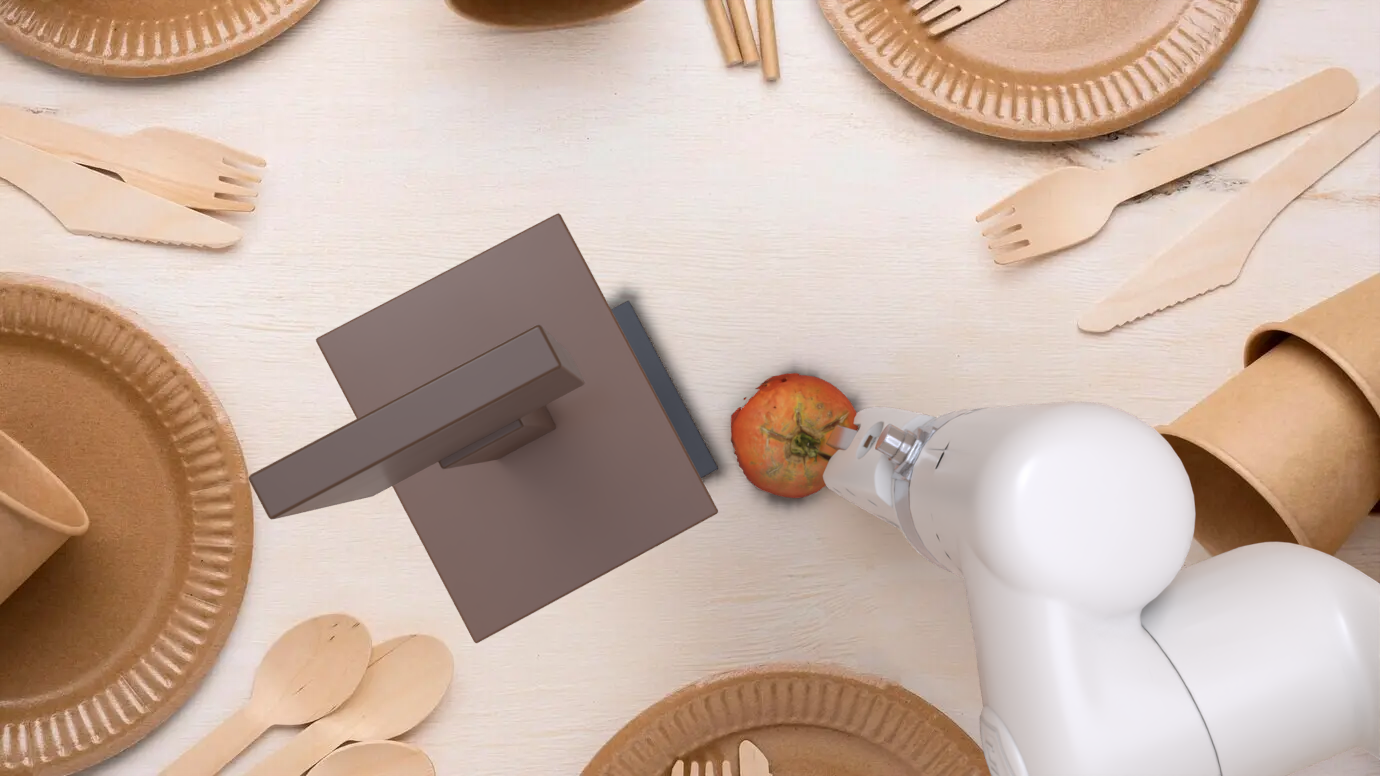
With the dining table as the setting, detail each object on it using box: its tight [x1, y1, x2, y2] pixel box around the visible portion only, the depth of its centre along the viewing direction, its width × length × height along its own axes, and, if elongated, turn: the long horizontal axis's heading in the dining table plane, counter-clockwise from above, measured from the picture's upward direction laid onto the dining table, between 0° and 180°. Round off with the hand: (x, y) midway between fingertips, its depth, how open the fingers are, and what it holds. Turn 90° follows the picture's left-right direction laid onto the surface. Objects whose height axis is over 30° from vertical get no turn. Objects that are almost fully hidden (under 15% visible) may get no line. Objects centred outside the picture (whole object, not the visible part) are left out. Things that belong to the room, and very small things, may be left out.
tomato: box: [730, 372, 859, 499], centre depth 66 cm, size 8×7×7 cm
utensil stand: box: [248, 212, 719, 644], centre depth 42 cm, size 12×12×50 cm
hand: (889, 476), depth 65 cm, fingers closed
